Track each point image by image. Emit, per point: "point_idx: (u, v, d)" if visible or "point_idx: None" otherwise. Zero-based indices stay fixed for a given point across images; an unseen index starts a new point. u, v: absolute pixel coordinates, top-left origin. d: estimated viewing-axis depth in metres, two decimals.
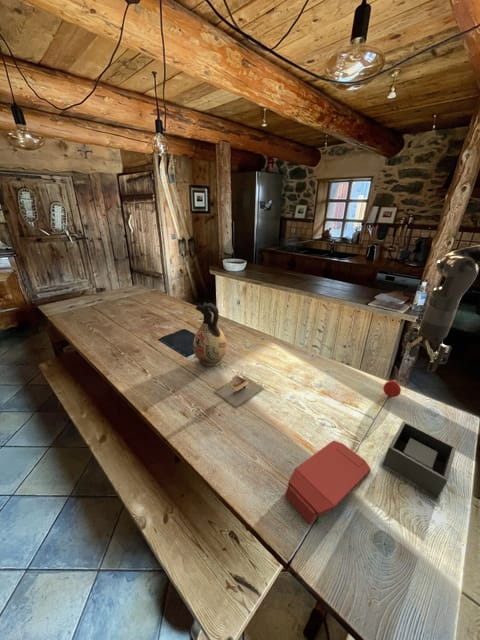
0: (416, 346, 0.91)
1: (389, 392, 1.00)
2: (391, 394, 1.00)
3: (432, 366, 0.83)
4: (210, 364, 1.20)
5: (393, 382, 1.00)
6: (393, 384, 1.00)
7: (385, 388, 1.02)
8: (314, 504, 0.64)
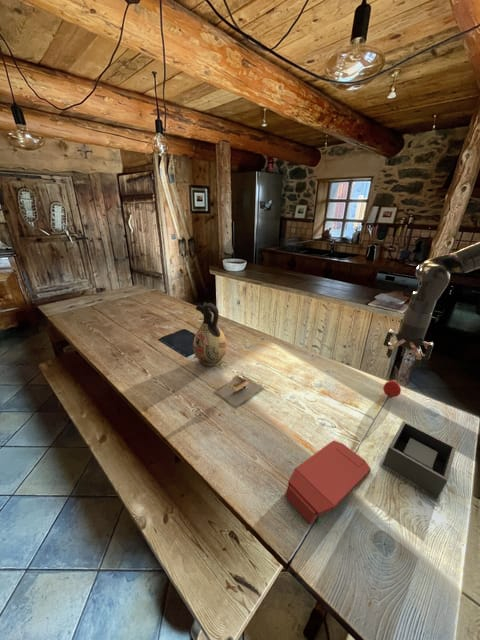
0: (392, 347, 0.97)
1: (389, 392, 1.00)
2: (391, 394, 1.00)
3: (419, 362, 0.92)
4: (210, 364, 1.20)
5: (393, 382, 1.00)
6: (393, 384, 1.00)
7: (385, 388, 1.02)
8: (314, 504, 0.64)
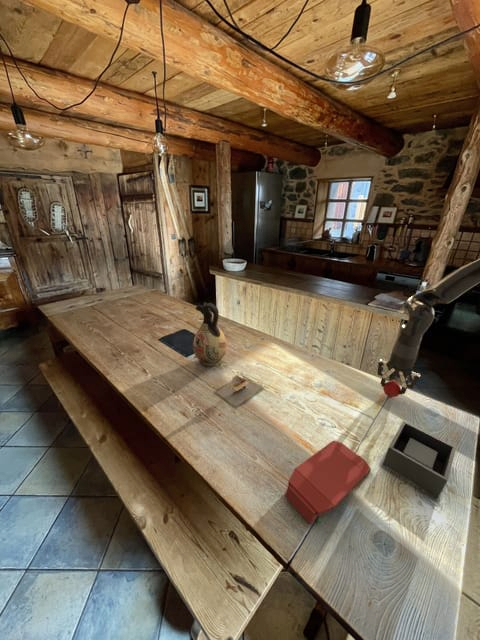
0: (386, 377, 1.02)
1: (389, 392, 1.00)
2: (391, 394, 1.00)
3: (404, 390, 0.98)
4: (210, 364, 1.20)
5: (393, 382, 1.00)
6: (393, 384, 1.00)
7: (385, 388, 1.02)
8: (314, 504, 0.64)
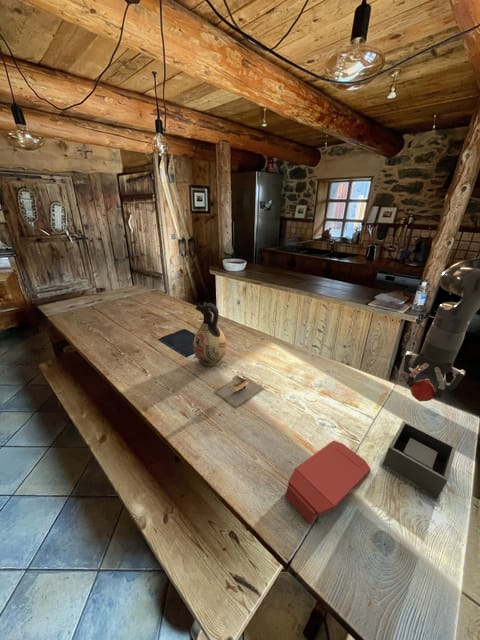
0: (415, 375, 0.78)
1: (419, 395, 0.76)
2: (422, 397, 0.75)
3: (441, 392, 0.73)
4: (210, 364, 1.20)
5: (425, 382, 0.76)
6: (425, 385, 0.75)
7: (414, 389, 0.77)
8: (314, 504, 0.64)
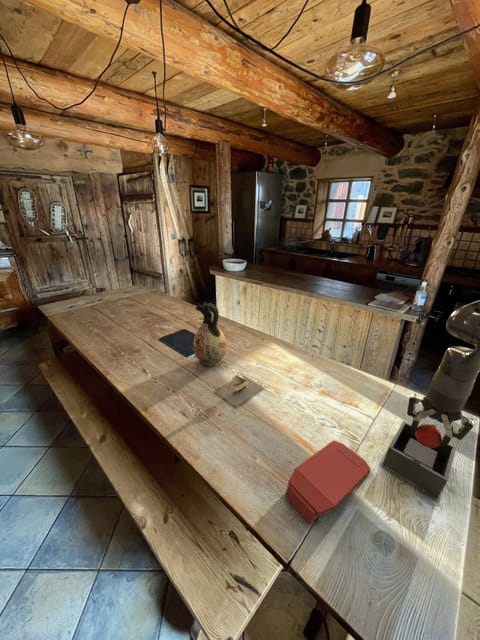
0: None
1: (425, 441, 0.70)
2: (428, 444, 0.70)
3: (448, 440, 0.68)
4: (210, 364, 1.20)
5: (431, 427, 0.70)
6: (431, 431, 0.70)
7: (419, 435, 0.72)
8: (314, 504, 0.64)
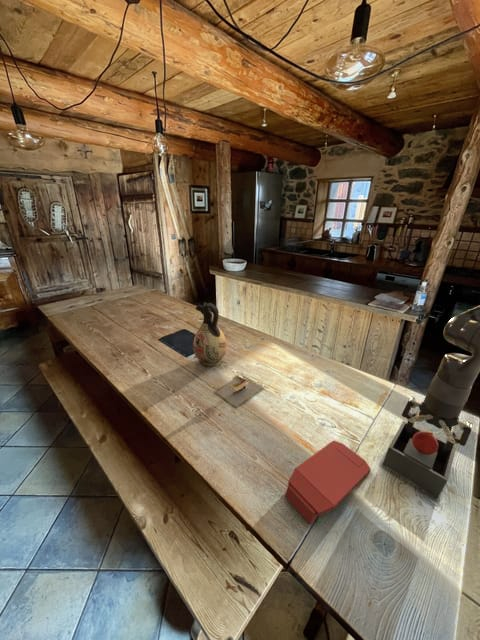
0: None
1: (422, 449, 0.72)
2: (425, 452, 0.71)
3: (451, 446, 0.68)
4: (210, 364, 1.20)
5: (427, 435, 0.72)
6: (428, 438, 0.71)
7: (416, 442, 0.73)
8: (314, 504, 0.64)
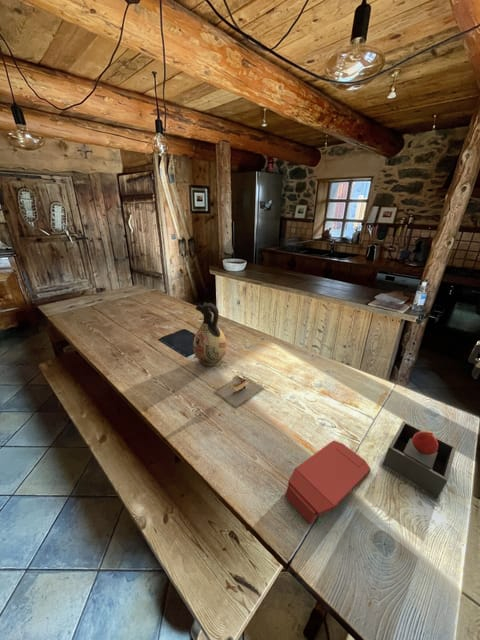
0: None
1: (422, 449, 0.72)
2: (425, 452, 0.71)
3: None
4: (210, 364, 1.20)
5: (427, 435, 0.72)
6: (428, 438, 0.71)
7: (416, 442, 0.73)
8: (314, 504, 0.64)
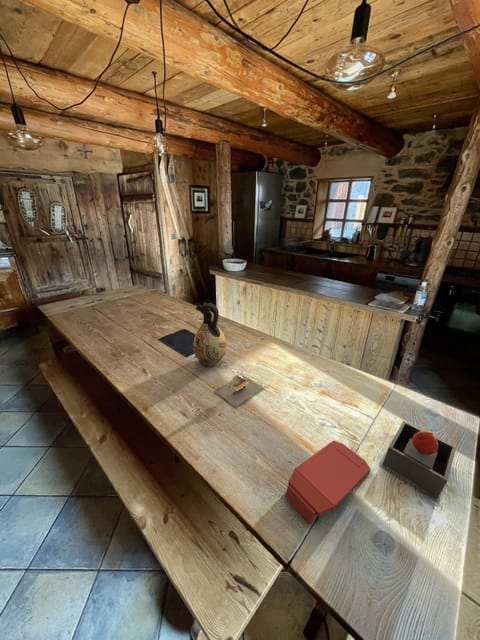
0: None
1: (422, 449, 0.72)
2: (425, 452, 0.71)
3: None
4: (210, 364, 1.20)
5: (427, 435, 0.72)
6: (428, 438, 0.71)
7: (416, 442, 0.73)
8: (314, 504, 0.64)
